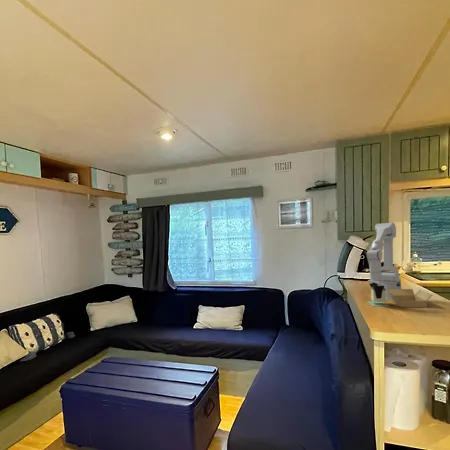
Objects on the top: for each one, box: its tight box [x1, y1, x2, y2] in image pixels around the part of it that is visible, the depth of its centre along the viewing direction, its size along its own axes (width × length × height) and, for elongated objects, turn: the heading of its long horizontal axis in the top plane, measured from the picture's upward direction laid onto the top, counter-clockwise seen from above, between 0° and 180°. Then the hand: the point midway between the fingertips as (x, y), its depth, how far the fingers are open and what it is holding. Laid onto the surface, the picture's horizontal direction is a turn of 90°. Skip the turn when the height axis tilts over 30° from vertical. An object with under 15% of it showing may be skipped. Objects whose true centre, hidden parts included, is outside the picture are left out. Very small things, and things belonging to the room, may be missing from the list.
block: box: [370, 286, 387, 303], centre depth 160 cm, size 4×6×7 cm
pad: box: [367, 300, 391, 307], centre depth 159 cm, size 12×8×1 cm, turn 167°
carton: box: [386, 288, 433, 308], centre depth 158 cm, size 18×18×6 cm
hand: (377, 297), depth 160 cm, fingers closed on block, 4 cm apart
